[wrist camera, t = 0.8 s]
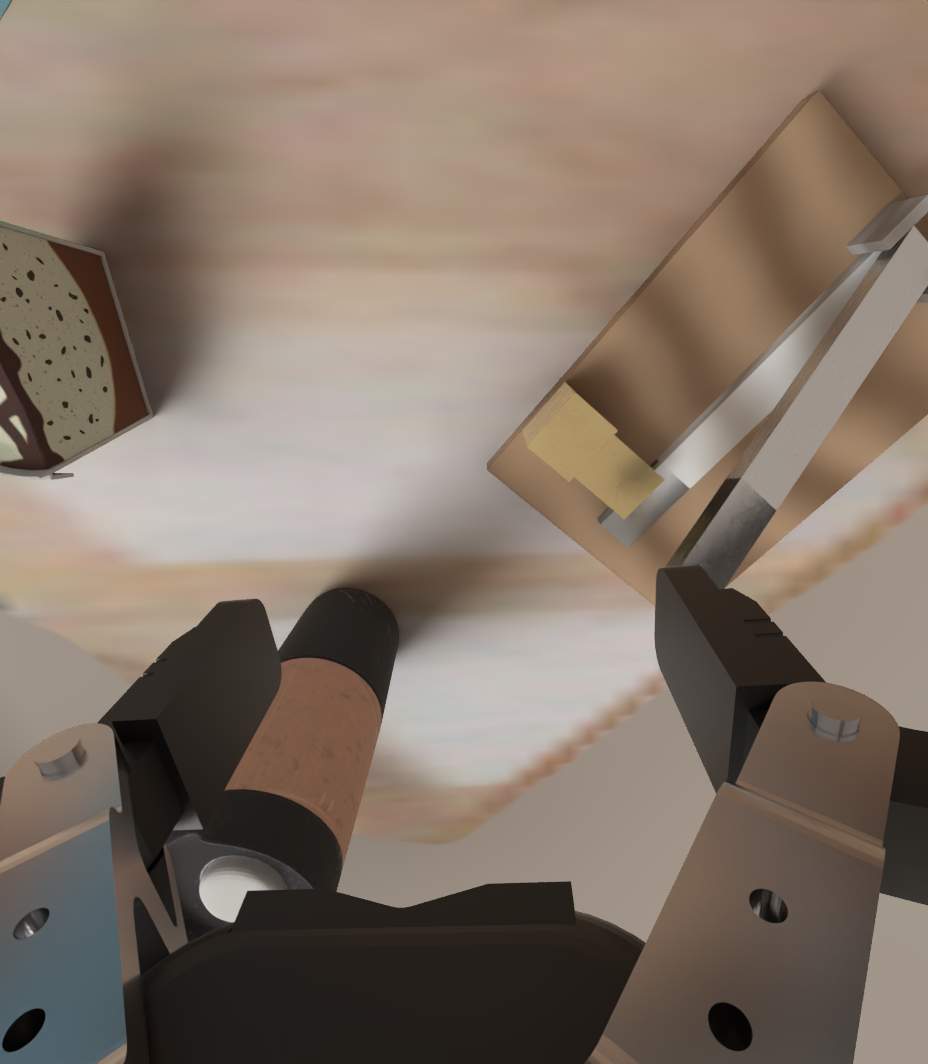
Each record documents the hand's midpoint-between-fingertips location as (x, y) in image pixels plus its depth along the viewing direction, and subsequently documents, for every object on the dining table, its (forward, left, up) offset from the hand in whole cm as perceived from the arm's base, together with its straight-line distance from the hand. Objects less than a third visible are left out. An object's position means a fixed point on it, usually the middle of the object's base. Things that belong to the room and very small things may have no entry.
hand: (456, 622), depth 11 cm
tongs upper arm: (-11, +11, -17) cm, 23 cm away
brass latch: (-3, +6, -22) cm, 23 cm away
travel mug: (+18, +3, -24) cm, 31 cm away
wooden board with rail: (-10, +11, -24) cm, 28 cm away
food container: (+12, -21, -25) cm, 34 cm away
